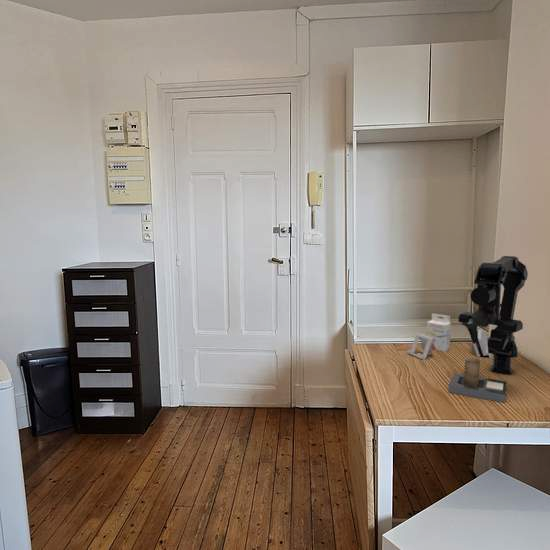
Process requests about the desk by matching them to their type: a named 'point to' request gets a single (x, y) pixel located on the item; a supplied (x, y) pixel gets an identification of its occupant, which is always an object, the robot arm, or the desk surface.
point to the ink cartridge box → (439, 332)
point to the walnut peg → (471, 372)
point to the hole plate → (490, 389)
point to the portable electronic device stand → (425, 343)
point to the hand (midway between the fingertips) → (487, 346)
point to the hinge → (481, 344)
